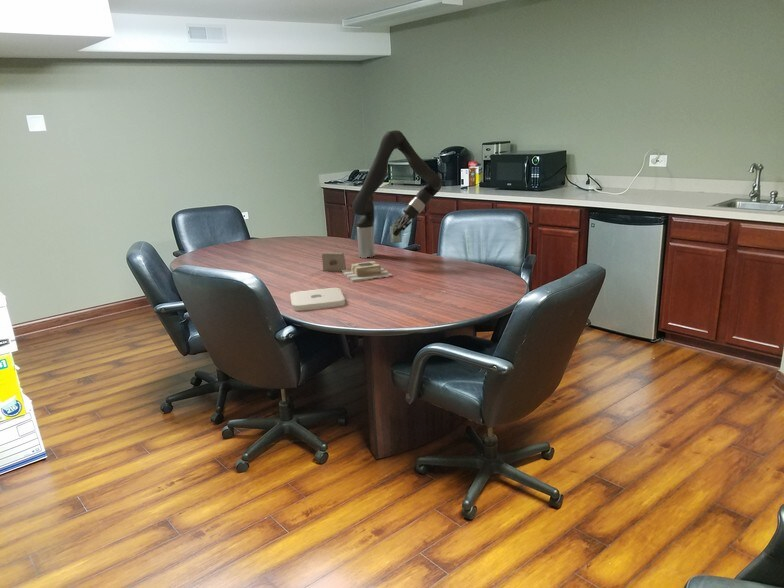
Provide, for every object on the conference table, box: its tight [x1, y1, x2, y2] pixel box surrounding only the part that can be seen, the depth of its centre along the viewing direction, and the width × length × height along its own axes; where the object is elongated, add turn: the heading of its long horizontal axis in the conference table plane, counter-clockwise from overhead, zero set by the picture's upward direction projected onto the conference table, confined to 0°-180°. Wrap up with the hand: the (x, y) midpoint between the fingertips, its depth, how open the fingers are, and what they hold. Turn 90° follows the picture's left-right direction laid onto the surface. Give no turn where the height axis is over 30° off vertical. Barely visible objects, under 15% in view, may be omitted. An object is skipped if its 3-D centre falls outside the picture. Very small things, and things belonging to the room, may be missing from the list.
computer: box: [290, 287, 346, 312], centre depth 249 cm, size 22×22×3 cm
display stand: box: [341, 260, 393, 283], centre depth 289 cm, size 22×20×5 cm
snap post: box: [389, 223, 402, 244], centre depth 294 cm, size 4×4×9 cm
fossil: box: [321, 251, 347, 272], centre depth 300 cm, size 12×4×10 cm, turn 70°
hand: (393, 234), depth 293 cm, fingers closed on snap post, 4 cm apart
